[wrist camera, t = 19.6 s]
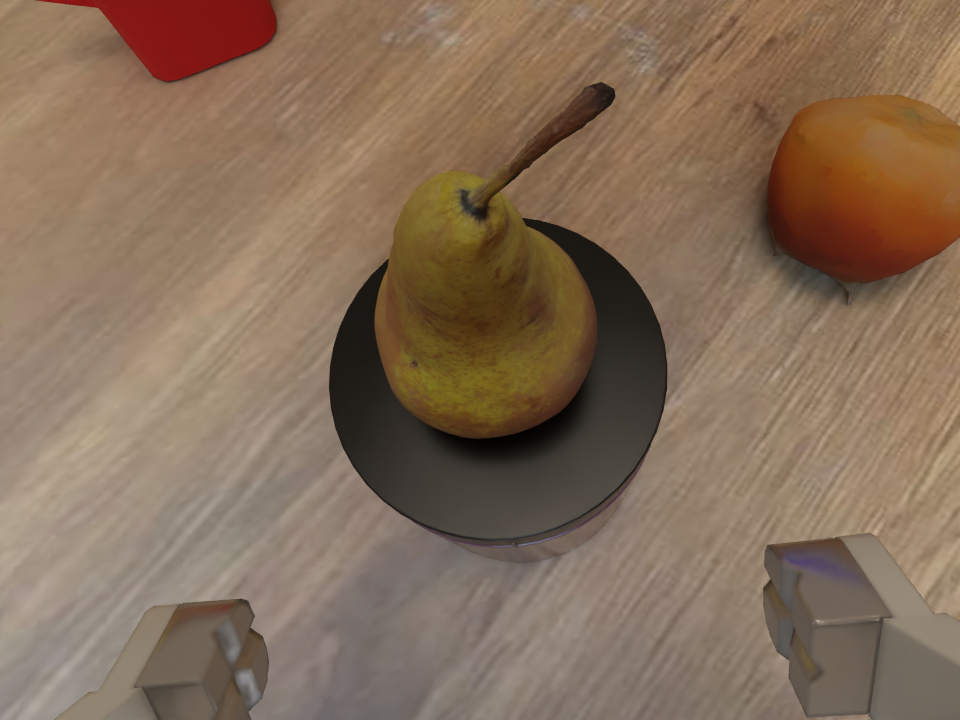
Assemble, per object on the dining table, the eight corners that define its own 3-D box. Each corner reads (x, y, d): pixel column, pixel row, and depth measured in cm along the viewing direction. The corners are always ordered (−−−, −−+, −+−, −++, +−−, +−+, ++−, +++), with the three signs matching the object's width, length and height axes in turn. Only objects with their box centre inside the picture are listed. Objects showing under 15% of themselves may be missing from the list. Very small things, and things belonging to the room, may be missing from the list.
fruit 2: (707, 278, 31) (794, 104, 25) (750, 206, 36) (830, 49, 31) (892, 363, 29) (1030, 193, 23) (909, 273, 34) (1025, 117, 29)
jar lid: (687, 529, 20) (699, 523, 19) (352, 564, 21) (332, 561, 19) (631, 225, 24) (636, 195, 22) (342, 265, 24) (325, 239, 23)
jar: (653, 548, 29) (698, 522, 19) (414, 575, 30) (338, 563, 20) (614, 324, 32) (634, 202, 22) (399, 353, 33) (328, 248, 23)
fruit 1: (494, 240, 22) (415, -141, 11) (633, 364, 20) (715, 62, 9) (359, 362, 21) (121, 90, 10) (491, 502, 19) (386, 365, 8)
